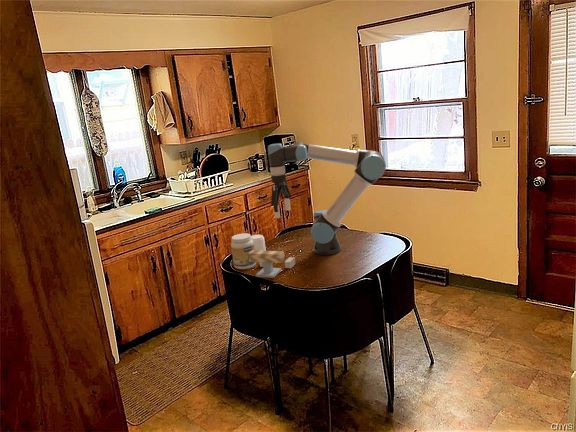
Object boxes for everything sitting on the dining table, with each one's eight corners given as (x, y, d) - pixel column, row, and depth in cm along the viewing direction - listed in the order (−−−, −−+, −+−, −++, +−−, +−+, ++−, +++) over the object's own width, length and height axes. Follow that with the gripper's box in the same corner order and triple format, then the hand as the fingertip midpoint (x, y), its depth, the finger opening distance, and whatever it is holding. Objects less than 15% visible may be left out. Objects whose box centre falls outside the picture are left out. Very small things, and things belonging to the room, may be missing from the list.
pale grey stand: (281, 270, 240) (280, 257, 238) (273, 277, 232) (271, 264, 230) (264, 269, 244) (262, 256, 242) (255, 276, 236) (253, 263, 234)
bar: (284, 259, 234) (283, 251, 233) (281, 263, 230) (280, 254, 229) (253, 258, 242) (252, 250, 241) (249, 261, 238) (248, 253, 237)
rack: (295, 263, 247) (294, 257, 246) (290, 268, 241) (289, 262, 240) (265, 262, 254) (264, 256, 253) (259, 266, 248) (259, 260, 247)
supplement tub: (250, 270, 245) (246, 240, 240) (230, 269, 249) (225, 240, 245) (260, 261, 255) (256, 232, 251) (240, 261, 260) (236, 232, 255)
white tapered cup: (264, 258, 259) (261, 238, 256) (250, 259, 261) (247, 239, 258) (268, 253, 267) (265, 233, 263) (254, 254, 268) (251, 234, 265)
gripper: (281, 169, 251) (285, 207, 256) (260, 179, 229) (266, 220, 235) (294, 169, 248) (298, 207, 253) (274, 179, 226) (279, 221, 232)
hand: (283, 213), depth 244 cm, fingers open, 13 cm apart
